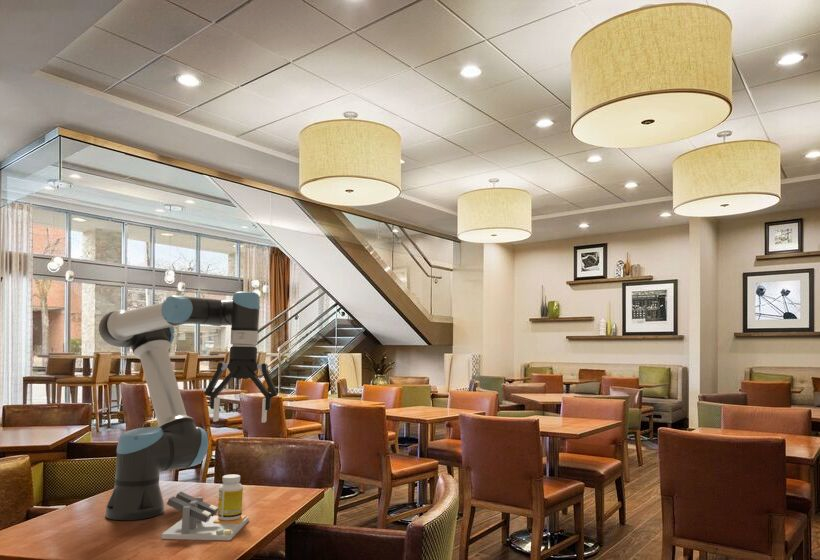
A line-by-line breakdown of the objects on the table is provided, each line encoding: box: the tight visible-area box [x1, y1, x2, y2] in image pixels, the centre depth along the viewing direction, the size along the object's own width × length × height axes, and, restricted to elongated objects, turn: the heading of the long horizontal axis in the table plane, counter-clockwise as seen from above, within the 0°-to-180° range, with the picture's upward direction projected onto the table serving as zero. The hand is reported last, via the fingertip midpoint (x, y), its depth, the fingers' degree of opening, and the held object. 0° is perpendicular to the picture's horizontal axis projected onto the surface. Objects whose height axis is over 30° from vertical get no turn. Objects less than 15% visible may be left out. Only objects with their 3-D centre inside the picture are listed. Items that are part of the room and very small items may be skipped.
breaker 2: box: [175, 491, 218, 516], centre depth 160 cm, size 11×3×2 cm, turn 88°
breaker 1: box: [166, 496, 212, 523], centre depth 155 cm, size 11×3×2 cm, turn 88°
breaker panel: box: [161, 496, 250, 541], centre depth 160 cm, size 17×18×8 cm
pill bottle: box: [217, 473, 244, 521], centre depth 166 cm, size 6×6×11 cm
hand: (239, 421), depth 173 cm, fingers open, 13 cm apart
